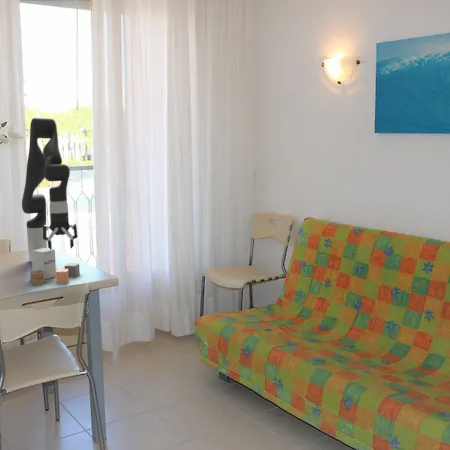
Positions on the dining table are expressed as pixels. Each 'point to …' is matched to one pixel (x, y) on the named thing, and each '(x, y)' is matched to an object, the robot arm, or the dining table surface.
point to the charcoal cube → (72, 269)
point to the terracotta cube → (62, 276)
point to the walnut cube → (36, 277)
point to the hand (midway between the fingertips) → (61, 248)
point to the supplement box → (44, 262)
